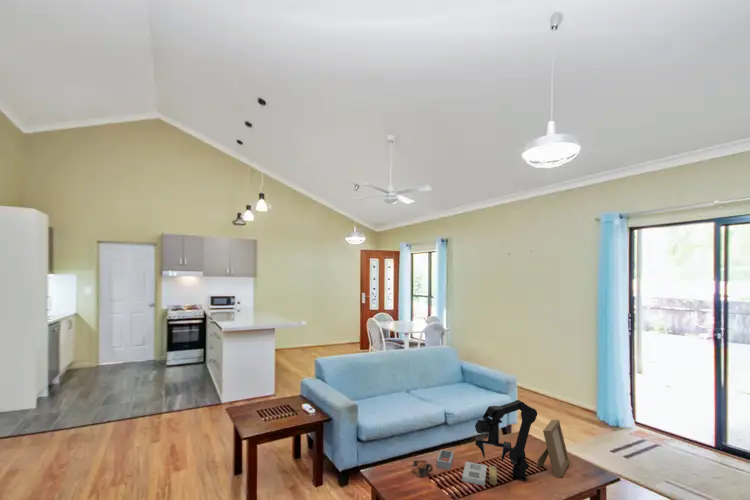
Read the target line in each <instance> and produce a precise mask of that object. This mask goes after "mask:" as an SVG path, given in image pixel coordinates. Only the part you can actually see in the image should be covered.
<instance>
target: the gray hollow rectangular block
mask: <svg viewBox="0 0 750 500" xmlns="http://www.w3.org/2000/svg"><path fill="white" fill-rule="evenodd" d="M442 458H448V459H449V460H448V461H446V460H442ZM453 460H454V451H452V450H448V449H447V450H446V449H440V451H439V454H438V456H437V460H436V468H437V469H444V470H448V471H449V470H451V466H452V464H453Z"/></svg>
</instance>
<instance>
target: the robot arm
mask: <svg viewBox="0 0 750 500" xmlns="http://www.w3.org/2000/svg"><path fill="white" fill-rule="evenodd" d="M516 411H520V419H521V424H520V427H519V431H518V434H517V438H516V442H515V445H514V446H513V447H512V443H511V442H510V441H505V440H504V441H503V443H502V442H500V424H503V420H502V419H503V417H504V416H505V415H507V414H508V415H509V414H511V413H513V412H516ZM537 417H538V412H537V409H535V408H533V407H531V406H529V405H528V404H526V403H525V402H524V401H522V400H520V399H516V400H515V401H512V402H508V403H505V404H503V405H489V406H488V407H487V409H486V410H485V412H484V414H483V415H482V419H477V421H476V422H475V425H474V428H475V431H476V433H477V434H485V437H487V440H485V439H484V437H481V436H477V437H475V438H476V439H475V446H476V447H477V448H479V449H480V451H481V454H482V457H483V459H486V454H485V453H486V452H485V445H487V446H493V447H499V448H502V453H501V462H503V461H504V459H505V456H506V454H508V459H509V460H510V463H511V464H513V466H512V476H513V477H512V478H513V479H514V480H520V481H527V477H526V475H527V474H526V471H527V470H529V466H530V464H529V463H528V462H527V461H526V457H527V456H526V453H525V452H526V451H525V449H526V444H527V441H528V437H529V433H530V429H531V427H532V426H531V425H533V423H534V422H535V421H536V419H537Z"/></svg>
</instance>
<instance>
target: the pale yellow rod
mask: <svg viewBox="0 0 750 500" xmlns="http://www.w3.org/2000/svg"><path fill="white" fill-rule="evenodd" d="M488 473H489V474H488V477H489V478H488V482H489V484H490V485H494V486H495V485H497V483H498V481H497V480H498V468H497V467H496V466H495V465H490V466H489V468H488Z"/></svg>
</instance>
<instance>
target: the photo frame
mask: <svg viewBox="0 0 750 500" xmlns="http://www.w3.org/2000/svg"><path fill="white" fill-rule="evenodd" d="M562 430H563V429H562V427H561V422H560V419H551V420H550V421H549V422H548V424H547V425H546V427H545V428H544V429H543V430H542V433H543V437H544V440H545V445H546V447H545V449H543V452H542V453H541V455H540V456H539V457H538V459H537V462H536V467H537V468H540V467H543V466H544V465H545V462H546V461H547V459H548V457H549V462H550V465H551V469H552V473H553V477H557V478H558V477H559V478H563V475H564V474H565V472H566V471H567V468H568V466H569V465H570V459H569V454H568V450H567V447H566V443H565V439H564V434H563V431H562Z"/></svg>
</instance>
